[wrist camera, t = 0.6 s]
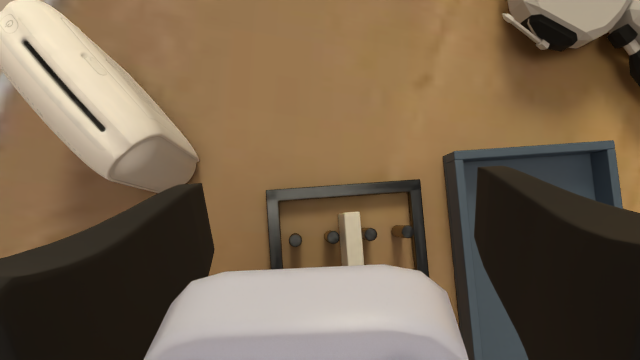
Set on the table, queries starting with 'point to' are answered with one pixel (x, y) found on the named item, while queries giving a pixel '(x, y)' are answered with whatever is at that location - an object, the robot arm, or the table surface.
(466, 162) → the tray
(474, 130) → the table surface
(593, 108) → the table surface
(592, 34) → the robot toy
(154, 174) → the photo printer
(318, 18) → the table surface
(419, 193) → the rack
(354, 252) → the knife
